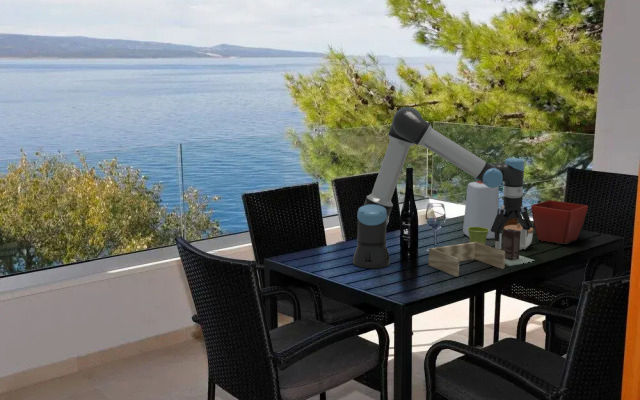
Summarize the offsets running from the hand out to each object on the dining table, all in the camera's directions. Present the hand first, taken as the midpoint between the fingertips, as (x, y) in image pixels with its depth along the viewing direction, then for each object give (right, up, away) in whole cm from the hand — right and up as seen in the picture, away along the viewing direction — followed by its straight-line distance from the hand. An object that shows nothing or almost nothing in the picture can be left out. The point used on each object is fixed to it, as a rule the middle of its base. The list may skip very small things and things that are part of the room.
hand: (510, 246), depth 305 cm
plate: (0, -6, +1) cm, 6 cm away
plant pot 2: (+30, 0, +33) cm, 45 cm away
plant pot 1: (-9, -2, +21) cm, 23 cm away
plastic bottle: (-3, +2, +44) cm, 44 cm away
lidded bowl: (+8, -2, +21) cm, 23 cm away
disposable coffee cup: (+14, +5, +57) cm, 59 cm away
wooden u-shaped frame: (-20, -7, -9) cm, 24 cm away
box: (0, -5, +1) cm, 5 cm away
